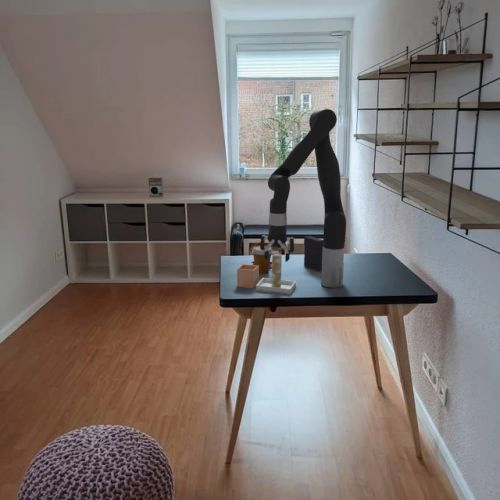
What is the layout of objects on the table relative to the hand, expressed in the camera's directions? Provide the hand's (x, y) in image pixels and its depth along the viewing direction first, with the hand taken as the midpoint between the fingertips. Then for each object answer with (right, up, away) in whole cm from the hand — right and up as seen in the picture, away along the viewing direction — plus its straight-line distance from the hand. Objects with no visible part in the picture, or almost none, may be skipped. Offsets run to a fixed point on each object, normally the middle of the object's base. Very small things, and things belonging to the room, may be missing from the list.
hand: (276, 260), depth 214 cm
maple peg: (0, -11, +3) cm, 12 cm away
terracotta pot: (-12, -11, +8) cm, 18 cm away
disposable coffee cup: (-6, -6, +25) cm, 27 cm away
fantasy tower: (-5, -3, +36) cm, 37 cm away
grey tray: (0, -12, +3) cm, 13 cm away
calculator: (+20, -5, +33) cm, 39 cm away
